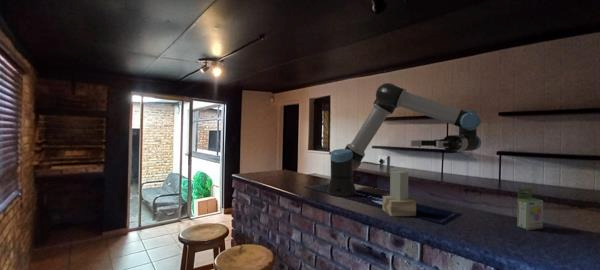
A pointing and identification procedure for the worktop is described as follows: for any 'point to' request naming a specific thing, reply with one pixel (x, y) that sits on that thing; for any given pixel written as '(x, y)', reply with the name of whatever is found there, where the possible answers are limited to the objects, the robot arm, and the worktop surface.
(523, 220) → the ink box
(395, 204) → the birch block
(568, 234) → the worktop surface
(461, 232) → the worktop surface
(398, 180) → the sage block
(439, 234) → the worktop surface
